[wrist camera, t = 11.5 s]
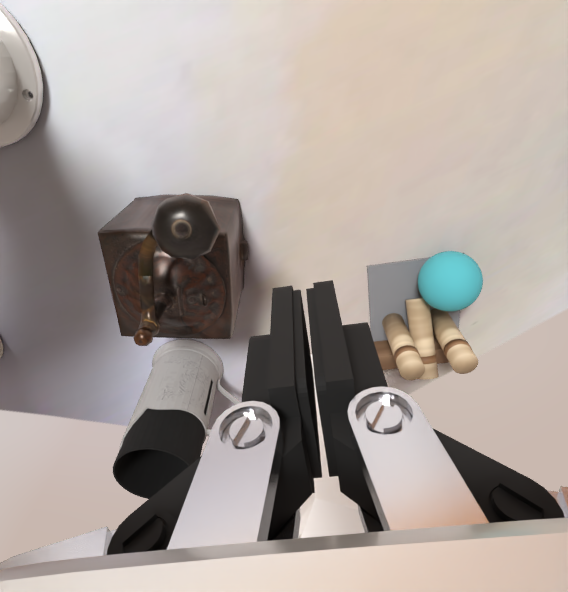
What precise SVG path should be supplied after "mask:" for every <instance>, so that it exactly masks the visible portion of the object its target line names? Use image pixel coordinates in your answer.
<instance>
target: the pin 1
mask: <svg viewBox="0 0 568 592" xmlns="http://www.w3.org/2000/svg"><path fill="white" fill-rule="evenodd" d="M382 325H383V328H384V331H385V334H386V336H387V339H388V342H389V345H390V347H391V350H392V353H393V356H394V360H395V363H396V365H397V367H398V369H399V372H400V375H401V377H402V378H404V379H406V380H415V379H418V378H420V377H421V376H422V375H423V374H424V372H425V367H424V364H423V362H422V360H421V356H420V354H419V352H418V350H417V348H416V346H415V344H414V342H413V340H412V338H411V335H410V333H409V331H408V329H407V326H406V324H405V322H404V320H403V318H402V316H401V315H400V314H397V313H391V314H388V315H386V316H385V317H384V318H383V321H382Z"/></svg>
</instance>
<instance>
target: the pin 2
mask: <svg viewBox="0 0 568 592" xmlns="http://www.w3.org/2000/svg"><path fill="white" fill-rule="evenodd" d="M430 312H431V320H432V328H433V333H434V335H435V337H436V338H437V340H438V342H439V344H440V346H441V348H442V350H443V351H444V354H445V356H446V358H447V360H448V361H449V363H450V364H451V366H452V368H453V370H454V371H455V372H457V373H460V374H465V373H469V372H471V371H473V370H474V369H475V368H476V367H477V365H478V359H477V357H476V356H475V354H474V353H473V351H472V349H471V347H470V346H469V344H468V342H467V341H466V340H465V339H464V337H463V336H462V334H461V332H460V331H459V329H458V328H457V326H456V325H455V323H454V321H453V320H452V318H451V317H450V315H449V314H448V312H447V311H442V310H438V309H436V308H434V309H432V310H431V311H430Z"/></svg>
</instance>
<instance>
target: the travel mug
mask: <svg viewBox="0 0 568 592" xmlns="http://www.w3.org/2000/svg"><path fill="white" fill-rule="evenodd" d="M2 355H3V344H2V341H1V339H0V359H1V357H2Z"/></svg>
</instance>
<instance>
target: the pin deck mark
mask: <svg viewBox="0 0 568 592" xmlns="http://www.w3.org/2000/svg"><path fill="white" fill-rule="evenodd" d="M463 254H464V253H463ZM429 258H431V257H429ZM429 258H422V259H414V260H407V261H400V262H392V263H385V264H378V265H370V266H367V273H368V291H369V308H370V326H371V335H372V338H373V341H374V342H375V341H383V340H388V339H387V336H386V334H385V331H384V328H383V325H382V321H383V318H384V317H385V316H386V315H388V314H391V313H397V314H400V315H401V316H402V318H403V320H404V322H405V324H406V326H407V329H408V331H409V325H408V317H407V309H406V301H405V300H407V299H415V298H422V296H421V294H420V292H419V288H418V275H419V272H420V270H421V268H422V266H423V264H424V263H425V262H426V261H427V260H428V259H429ZM432 309H434V307H432V306H430V311H431V310H432ZM447 312H448V314H449V315H450V317H451V318H452V320H453V321H454V323H455V325H456V326H457V328H458V329H459V316H460V310H458V311H447ZM433 334H434V333H433Z"/></svg>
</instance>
